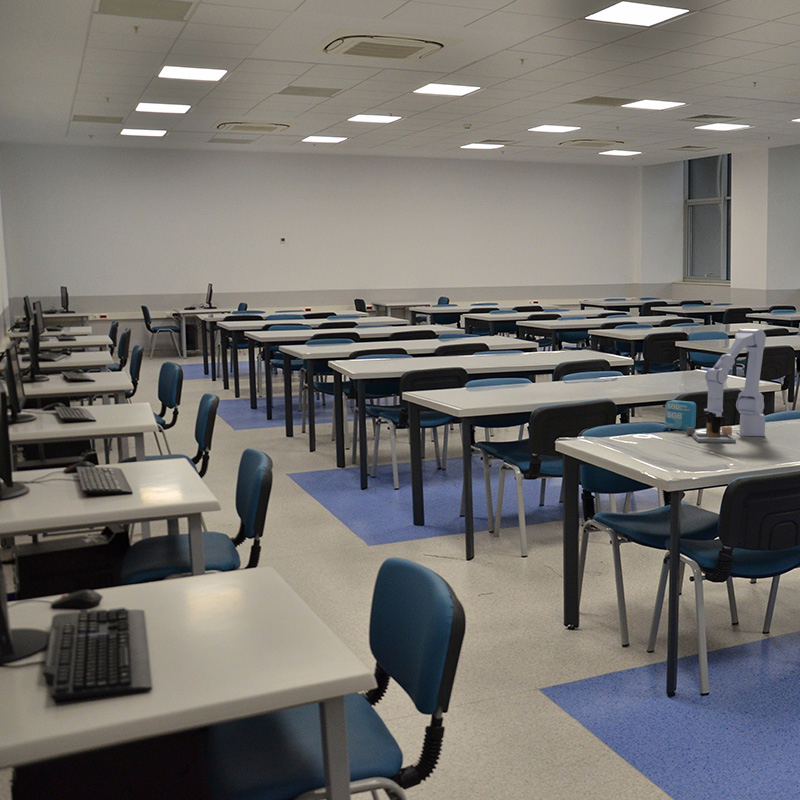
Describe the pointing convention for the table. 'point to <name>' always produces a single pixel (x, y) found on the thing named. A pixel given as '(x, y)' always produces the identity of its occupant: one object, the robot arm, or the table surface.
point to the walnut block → (709, 431)
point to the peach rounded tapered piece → (726, 430)
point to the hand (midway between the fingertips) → (714, 431)
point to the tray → (714, 439)
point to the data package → (680, 414)
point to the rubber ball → (690, 431)
